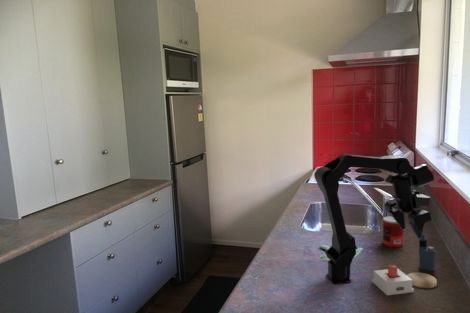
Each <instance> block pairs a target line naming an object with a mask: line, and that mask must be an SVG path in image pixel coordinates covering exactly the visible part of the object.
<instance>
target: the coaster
mask: <svg viewBox="0 0 470 313" xmlns="http://www.w3.org/2000/svg"><path fill="white" fill-rule="evenodd" d="M406 275H407V276H408V277H409V278H411V279H412V287H417V288H420V289H421V288H422V289H433V288H436V287H437V285H438V280H437V279H436V278H435V277H434V276H432V275H431V274H428V273H424V272H420V271H419V272H410V273H408V274H406Z"/></svg>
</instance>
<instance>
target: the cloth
mask: <svg viewBox="0 0 470 313" xmlns="http://www.w3.org/2000/svg"><path fill="white" fill-rule="evenodd" d="M330 247H331V246H329V245H327V244H326V245H325V244H321V245H319V249H321V250H323V249H324V250H323V251H325V252H326V251H327V250H328V249H329V248H330ZM357 248H358V249H356V255H355V256H354V258H353V259H355V258H357V256H359V255H360V254H361V253H362V251H363V247H357ZM321 255H322V256H321ZM321 255H319V258H321V259H320V260H321V261H322V260H324V262H328V261H330V259H329V258H328V257H327V255H326V254H321ZM322 258H323V259H322Z"/></svg>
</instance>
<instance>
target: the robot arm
mask: <svg viewBox="0 0 470 313" xmlns="http://www.w3.org/2000/svg"><path fill="white" fill-rule="evenodd" d="M353 167H354V168H362V169H363V168H364V169H365V168H366V169H374V170H375V169H376V170H382V171H383V170H384V171H386V172H390V173H392V174H394V175H392V174H388V176H387V177H386V179H385V180H384V182H386V183H388V184H391V185H392V186H391V187H392V190H393V194H391V197H392V199H390V200H387V201H386V202H385V203H384V210H386V211H387V213H389V216H392V217H393V218H394V219H395V221H396V222H397V223H398V225H399V226H400V227H401V228H402V229H403V230H405V229H406V223H405V221H406V220H405V214H407V215H408V216H407V219H408V224H409V225H410V227H411V229H412V230H413V232H414V234H415V236H416V238H418V239H419V238H421V237H422V235H423V231H424V228H425V227H424V226H425V224H426V223H428V222H430V221H433V216H432V212H429V211H427V210H426V209H424V208H423V209H422V208H421V209H419V208H420V206H421V207H423V206H424V207H431V198H432V197H431V196H428V195H426V194H422V193H420V191H418V190H415V189H412V187H414V188H419V187H423V186H425V185H428V184H431V183H434V180H435V177H434V174H433V172H432V171H431V169H429V167H428V165H427V164H426V163H425V164H424V163H422V164H420V165H417V166H415V167H414V166H412V164H410V161H409V159H408V158H406V157H402V156H398V155H395V154H393V155H390V154H389V155H384V156H367V155H358V154H356V155H355V154H348V153H341V154H339V155H338V156H337V157H336V158H334V159H332V160H331V161H328V162H327V163H325V165H323V166H320V167H318V168H317V169H316V170H315V172H314V179H315V182H316V185H317V186H318V188H319V189H320V191H321V193H322V195H323V197H324V202H325V206H326V209H327V214H328V217H329V218H328V219H329V221H330V226H331V230H332V234H331V235H332V236H331V246H329V247H330V248H329V249H328V250H327V251H326V250H325V255H327V257H328V258H329V259H330V261H327V273H326V275H325V276H326V277H327V278H328V279H329V281H330V282H331V283H332V284H333V285H336V284H344V283H351V282H352V279H351V264H352V262H353V259H355V258H354V256H355V255H356V249H358V248H359V247H357V244H356V238H355V237H354V236H353V235H351V234H350V233H349V232H348V231H347V228H346V227H347V226H346V223H345V219H344V215H343V211H342V207H341V203H340V202H341V201H340V198H339V194H338V193H339V188H340V179H341V178H342V177H344V176H345V174H346V173H347V171H348V170H350V168H353ZM415 209H418V210H415Z"/></svg>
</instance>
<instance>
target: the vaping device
mask: <svg viewBox="0 0 470 313" xmlns="http://www.w3.org/2000/svg"><path fill="white" fill-rule="evenodd" d="M418 239H419V242H418V243H419V246H418V247H419V248H418V255H419V265H418V268H419V269H421V270H425V271H430V272H432V271H433V272H434V270H435V269H436V250H435V247H433V246H432V245H431V246H428V238H427V237H426V236H425V235H423V234H422V237H421V238H418Z"/></svg>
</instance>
